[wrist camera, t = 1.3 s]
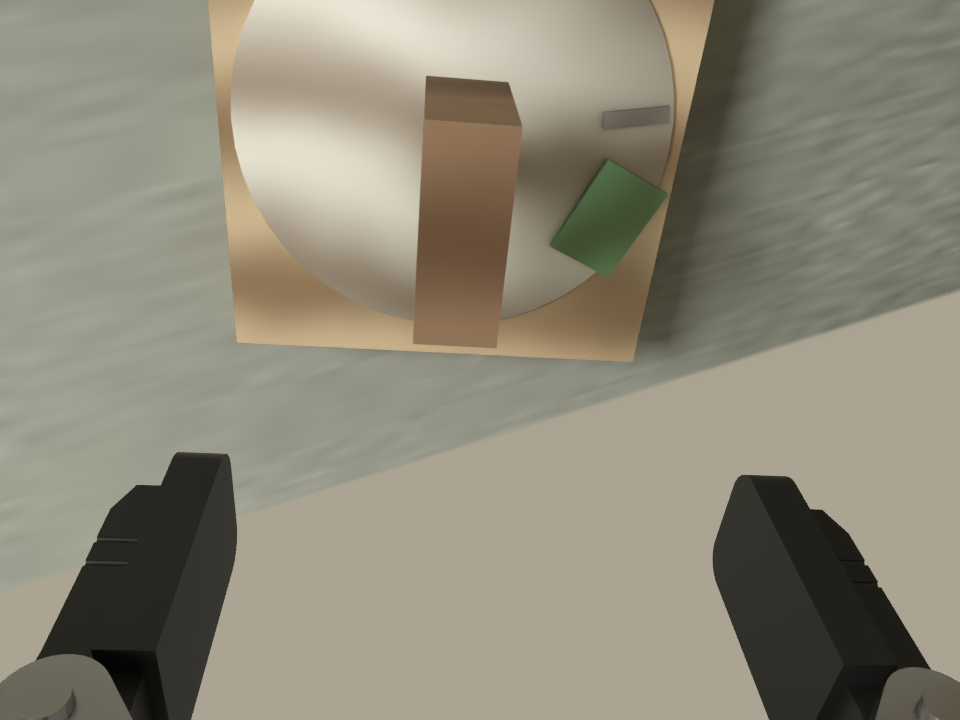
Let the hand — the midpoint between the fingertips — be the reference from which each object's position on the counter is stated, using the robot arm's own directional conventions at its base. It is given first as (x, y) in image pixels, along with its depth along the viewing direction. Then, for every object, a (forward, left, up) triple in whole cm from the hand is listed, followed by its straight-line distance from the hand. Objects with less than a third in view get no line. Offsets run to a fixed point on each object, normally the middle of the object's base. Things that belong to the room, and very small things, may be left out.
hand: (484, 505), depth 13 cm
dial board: (0, 0, -24) cm, 24 cm away
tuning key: (+2, 0, -20) cm, 20 cm away
